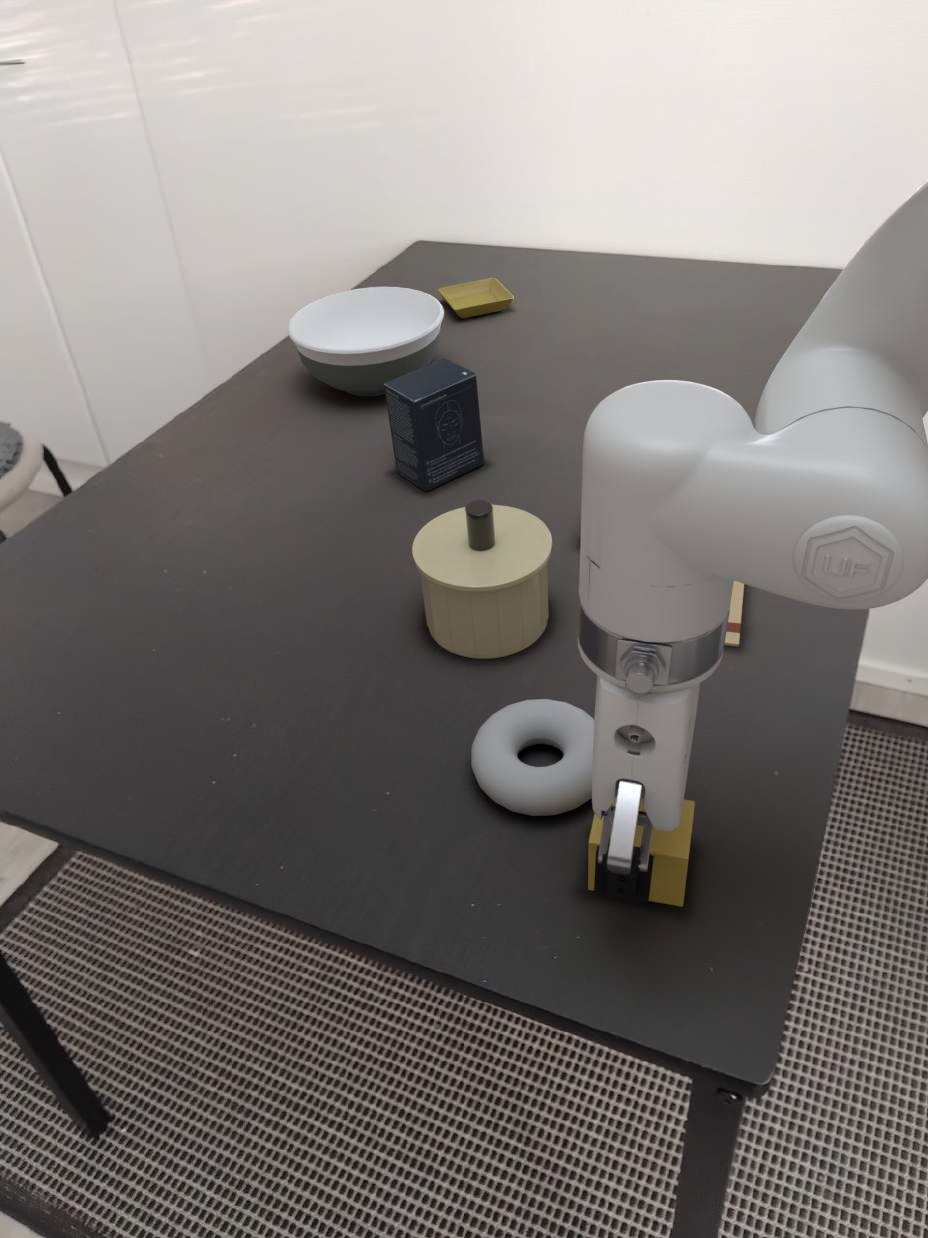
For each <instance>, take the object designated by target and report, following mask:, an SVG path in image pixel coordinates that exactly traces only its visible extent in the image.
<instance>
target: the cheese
mask: <svg viewBox="0 0 928 1238" xmlns="http://www.w3.org/2000/svg"><path fill="white" fill-rule="evenodd" d="M616 801H617V797H615V801H614V803H613V806H615V807H616ZM643 806H644V802H643V799H642V798H641V802H640V809H639V811H644V812H645V810H644V807H643ZM695 808H696V801H694V800H690V799H689V800H688V799H684V800H683V807H682V814H681V820H680V824H679V826H678V827H677V828H676V829H674V830H673V831H671V832H667V831H660V830H656V829H655V828H654V827H653V832H652V839H651V847H650V855H653V856H654V860H653V869H652V878H651V886H650V894H649V900H648V902H654V903H659V904H664V905H670V906H675V907H680V908H682V907H684V901H685V894H686V893H685V892H686V883H687V877H688V869H689V868H688V867H689V858H690V850H691V842H692V833H693V824H694V815H695ZM603 817H604V816H603ZM603 817H602V820H601V819H600V818H598V816H597V815H596V814H595V813H594V815H593V818H592V824H591V828H590V833H589V838H588V857H587V858H588V859H587V861H588V865H587V867H588V868H587V869H588V871H587V873H588V874H587V890H589V891H593V892H595V891H594V880H595V861H596V850H597V845H598V846H600V840H601V832H602V825H603ZM642 833H643V826H640V825H637V829H636V836H635V843H634V846H637V847H640V848H641V840H642Z"/></svg>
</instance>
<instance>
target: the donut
mask: <svg viewBox="0 0 928 1238" xmlns="http://www.w3.org/2000/svg"><path fill="white" fill-rule="evenodd" d="M594 719H595V718H594V717H592V716H591V715H590V714H588V713H587V712H586V711H585V710H583V709H582V708H579V707H577V706H574V705H572V704H570V703H568V702H566V701H560V700H554V699H550V698H539V699H538V698H537V699H526V700H523V701H519V702H514V703H512V704H508V705H506V706H504V707H503V708H501V709H499V710H498V711H496V712H494V713H493V714H491V715H490V717H488V718H487V719H486V720H485V721H484V722H483V724H482V725H480V727H479V729H478V730H477V732H476V734H475V737H474V740H473V742H472V744H471V748H470V749H471V751H470V753H471V754H470V756H471V757H470V761H471V762H470V767H471V769H472V772H473V774H474V778H475V779H476V781H477V782H476V783H477V784H478V786H479V788H480V789H481V790H482V791H483V792H484V793H485V794H486V795H487V796H488V798H490V799H491V800H492V801H493V802H494V803H496V804H498V805H499V806H501V807H504V808H505V809H507V810H509V811H510V812H513V813H518V814H522V815H527V816H532V817H541V816H542V817H544V816H545V817H546V816H556V815H561V814H563V813H567V812H569V811H573V810H576V809H578V808H579V807H580V806H582V805H584V804H585V803H587V802H588V801H589V800H592V767H593V740H594ZM534 745H548V746H551V747H554V748H555V749H558V750H560V751H561V752H562V754H563V757H562V758H561V760H559V761H557V762H555V763H554V764H551V765H547V766H533V765H529V764H526V763H524V762H523V761H521V759H519V757H518V755H519V753H520V752H521V751H523V750H524V749H526V748H527V747H531V746H534Z"/></svg>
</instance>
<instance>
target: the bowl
mask: <svg viewBox="0 0 928 1238" xmlns="http://www.w3.org/2000/svg"><path fill="white" fill-rule="evenodd" d="M444 316H445V309H444V307H443V305H442V304H441V302H440V301H439V300H438V299H437V298H436V297H434V296H433V295H431V294H429V293H426V292H425V291H421V290H418V289H413V288H407V287H400V286H369V287H361V288H355V289H349V290H344V291H339V292H336V293H332V294H329V295H327V296H323V297H320V298H317V299H316V300H313V301H312V302H310V303H308V304H306V305H304V306H303V307H301V308H300V309H299V310H297V311H296V312H295V313H294V314H293V315H292V316H291V318H290V319H289V322H288V323H287V334H288V336H289V338H290V339H291V341H292V342H293V343H294V345H295V347H296V350H297V353H298V355H299V359H300V361H301V363H302V365H303V366H304V367H305V368H306V369H307V371H308V372H309V373H310V374H311V375H312V376H313V377H314V378H315V379H316V380H319V381H320V382H321V383H324V384H325V385H328V386H329V387H331V388H334V389H337V390H339V391H342V392H346V393H347V394H350V395H353V396H356V397H366V398H367V397H377V396H378V397H379V396H384V395H385V389H384V383H386V382H388V381H391V380H393V379H396V378H398V377H400V376H403V375H405V374H407V373H410V372H412V371H415V370H417V369H419V368H422V367H424V366H427V365H429V364H431V363H432V361H433V360H434V358H435V356H436V354H437V352H438V349H439V347H440V342H441V325H442V322H443V320H444Z"/></svg>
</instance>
